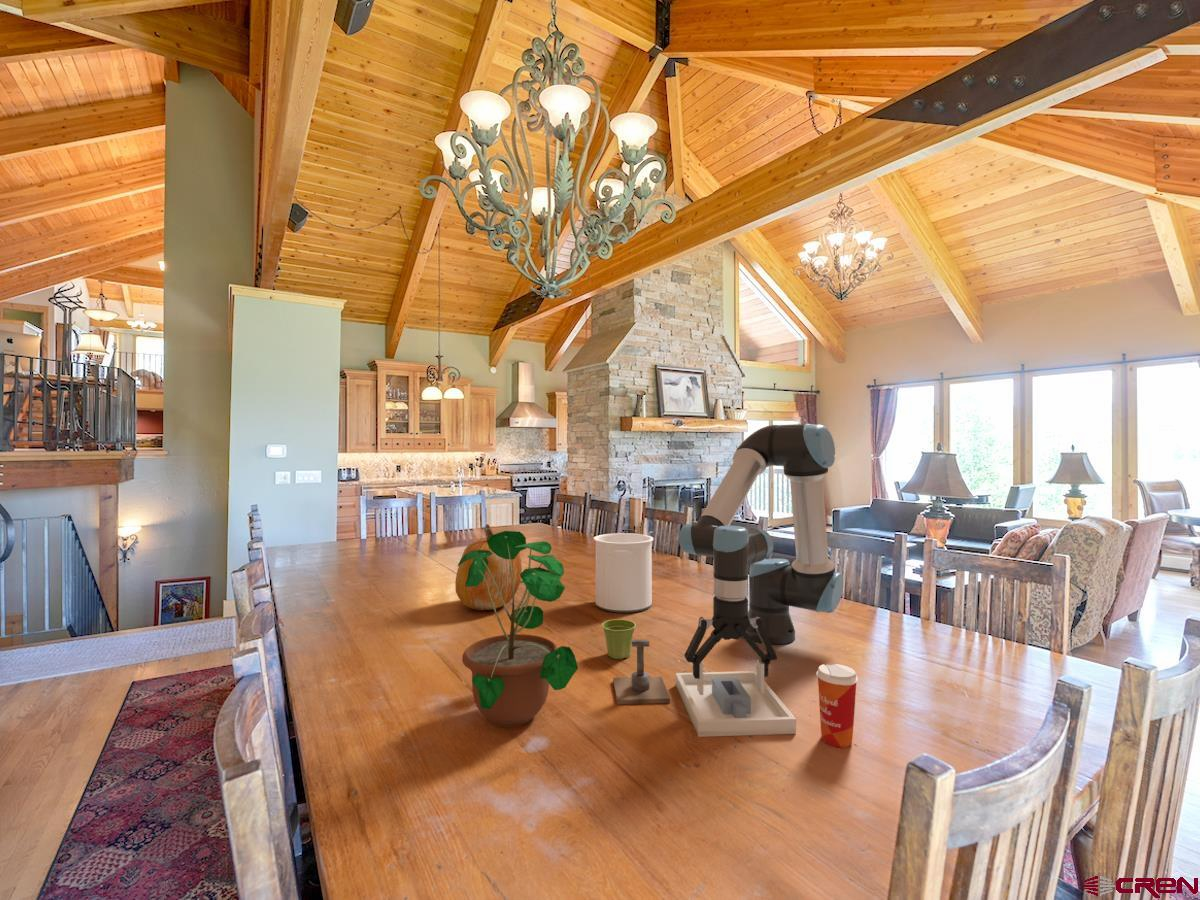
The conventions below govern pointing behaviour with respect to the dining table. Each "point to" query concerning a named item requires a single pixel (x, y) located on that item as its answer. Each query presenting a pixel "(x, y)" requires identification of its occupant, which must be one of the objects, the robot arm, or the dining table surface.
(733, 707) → the grey slotted block
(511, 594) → the pumpkin
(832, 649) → the dining table surface
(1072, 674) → the dining table surface
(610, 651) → the plant pot
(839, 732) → the paper cup
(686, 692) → the tray
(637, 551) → the bucket
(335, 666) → the dining table surface
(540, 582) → the potted plant
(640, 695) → the lever on base
